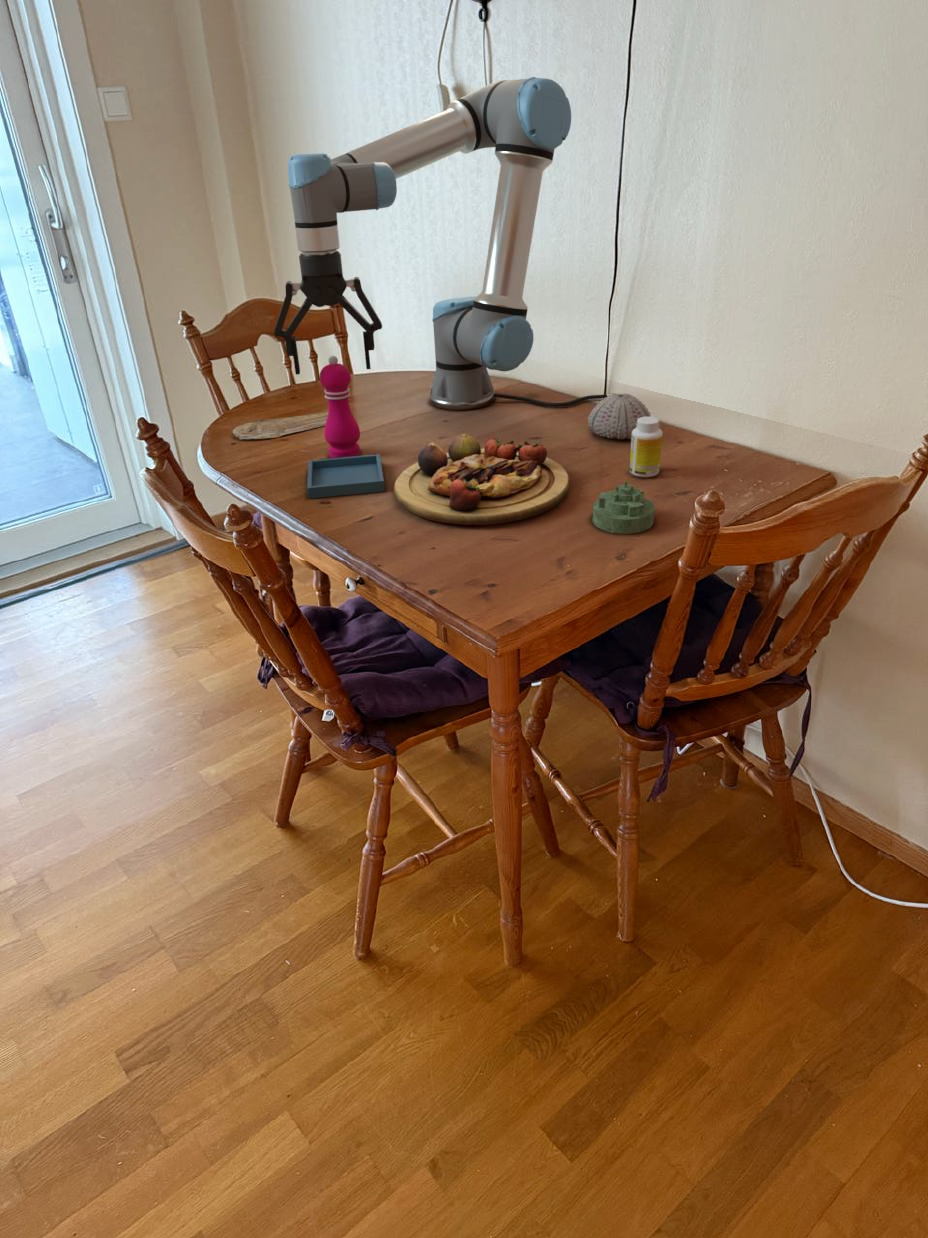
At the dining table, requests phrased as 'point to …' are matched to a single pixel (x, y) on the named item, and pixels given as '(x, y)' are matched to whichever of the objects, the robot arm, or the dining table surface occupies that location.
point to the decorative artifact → (623, 511)
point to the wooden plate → (481, 482)
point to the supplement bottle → (646, 447)
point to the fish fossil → (279, 426)
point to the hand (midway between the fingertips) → (333, 370)
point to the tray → (345, 476)
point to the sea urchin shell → (617, 416)
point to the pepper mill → (339, 411)
